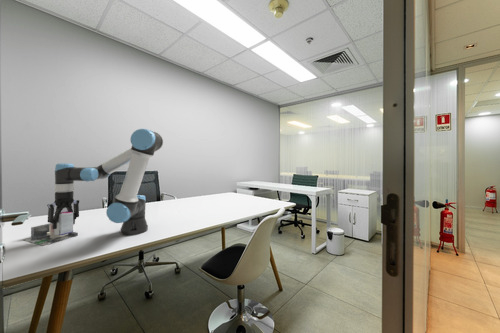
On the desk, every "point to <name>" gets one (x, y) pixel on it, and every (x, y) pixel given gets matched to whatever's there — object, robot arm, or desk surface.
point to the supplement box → (65, 223)
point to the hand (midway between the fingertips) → (64, 232)
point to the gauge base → (42, 231)
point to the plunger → (51, 234)
